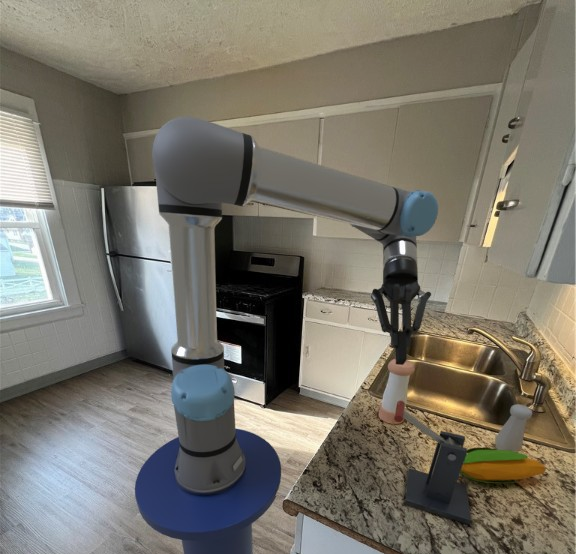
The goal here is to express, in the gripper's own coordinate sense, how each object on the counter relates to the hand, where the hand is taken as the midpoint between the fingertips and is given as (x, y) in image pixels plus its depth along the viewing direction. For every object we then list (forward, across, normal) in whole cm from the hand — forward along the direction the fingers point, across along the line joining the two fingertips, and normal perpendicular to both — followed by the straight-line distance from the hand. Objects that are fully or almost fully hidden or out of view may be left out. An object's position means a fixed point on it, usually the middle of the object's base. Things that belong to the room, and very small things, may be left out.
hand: (401, 362), depth 65 cm
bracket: (+25, -10, -12) cm, 30 cm away
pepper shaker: (+5, -6, -33) cm, 34 cm away
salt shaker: (+12, -33, -25) cm, 43 cm away
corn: (+20, -26, -18) cm, 37 cm away
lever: (+14, -5, -3) cm, 15 cm away
